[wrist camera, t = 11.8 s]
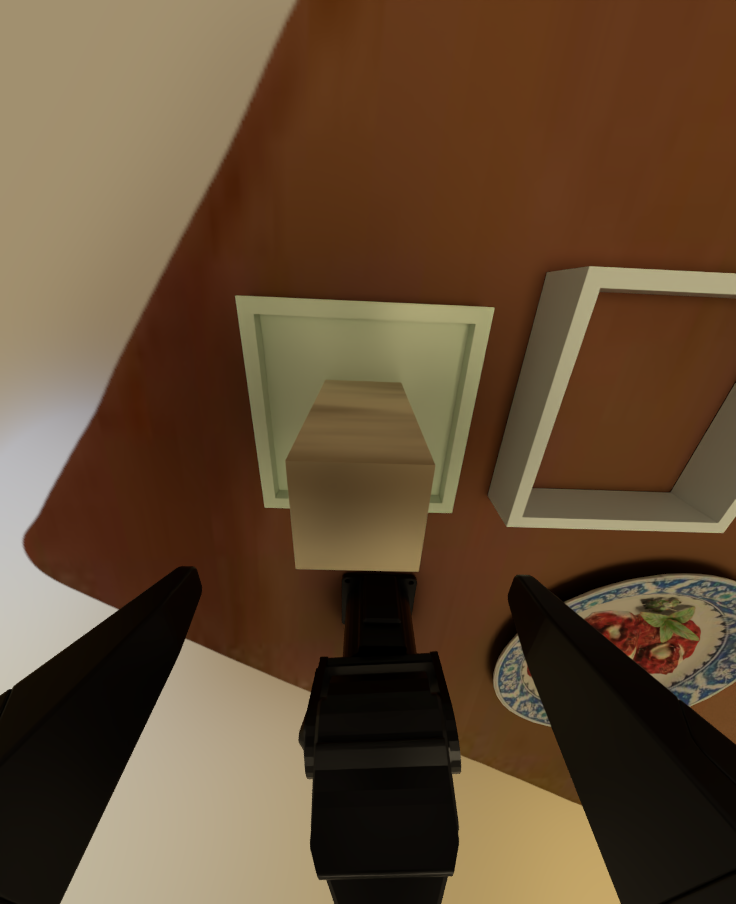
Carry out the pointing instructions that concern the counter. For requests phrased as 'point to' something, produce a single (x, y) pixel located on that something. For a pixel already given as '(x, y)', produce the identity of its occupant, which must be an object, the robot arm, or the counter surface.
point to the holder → (539, 398)
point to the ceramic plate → (647, 637)
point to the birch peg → (359, 480)
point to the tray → (361, 372)
